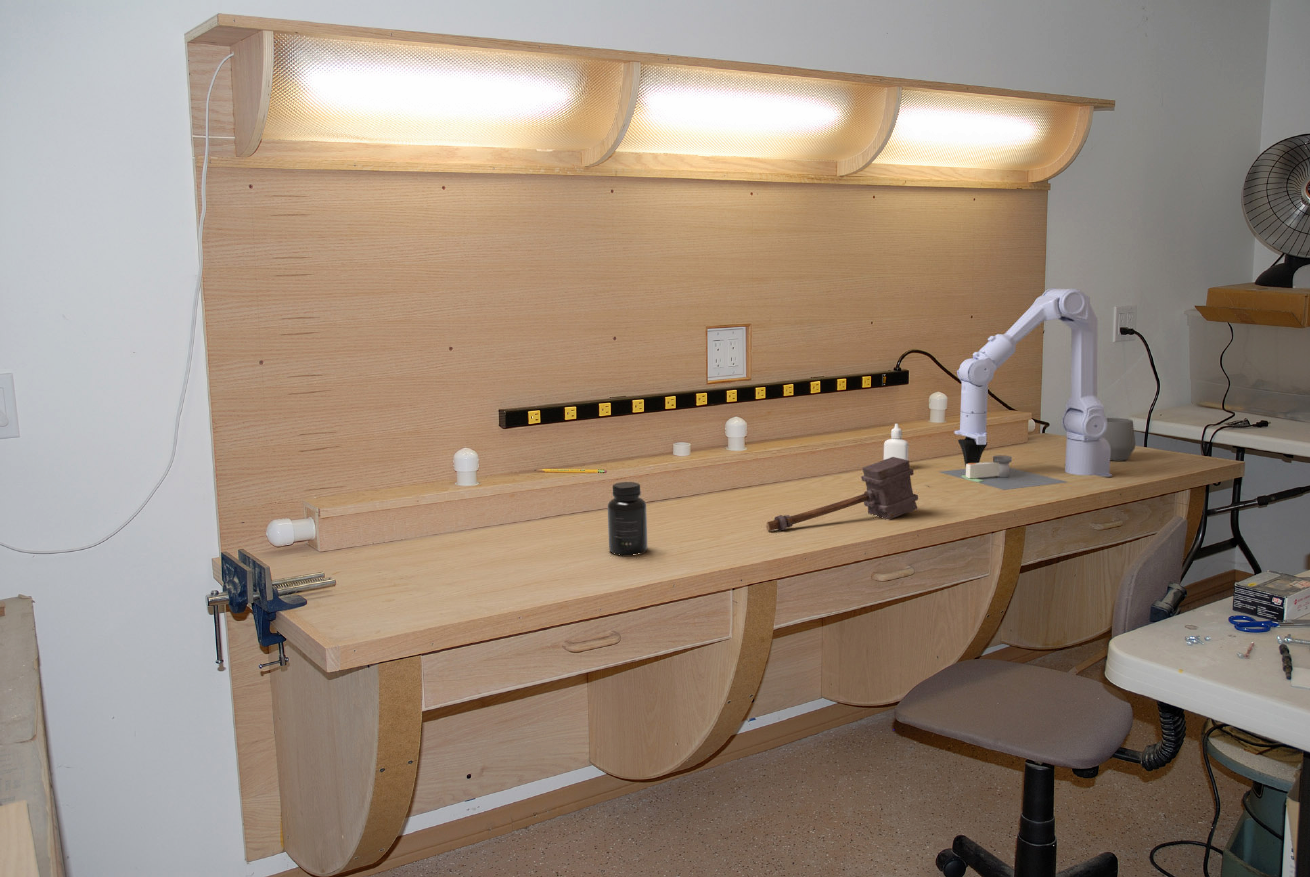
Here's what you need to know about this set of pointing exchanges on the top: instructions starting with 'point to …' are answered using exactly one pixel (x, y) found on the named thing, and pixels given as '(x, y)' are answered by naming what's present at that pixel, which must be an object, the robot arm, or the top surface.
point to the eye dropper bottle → (896, 445)
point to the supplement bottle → (627, 520)
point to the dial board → (1008, 479)
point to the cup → (1120, 438)
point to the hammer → (869, 494)
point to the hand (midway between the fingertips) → (971, 470)
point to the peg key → (990, 468)
